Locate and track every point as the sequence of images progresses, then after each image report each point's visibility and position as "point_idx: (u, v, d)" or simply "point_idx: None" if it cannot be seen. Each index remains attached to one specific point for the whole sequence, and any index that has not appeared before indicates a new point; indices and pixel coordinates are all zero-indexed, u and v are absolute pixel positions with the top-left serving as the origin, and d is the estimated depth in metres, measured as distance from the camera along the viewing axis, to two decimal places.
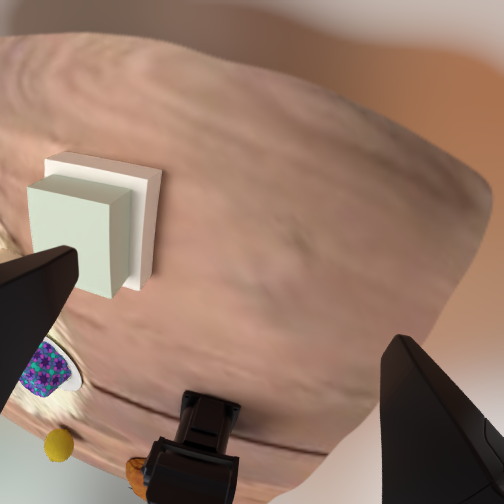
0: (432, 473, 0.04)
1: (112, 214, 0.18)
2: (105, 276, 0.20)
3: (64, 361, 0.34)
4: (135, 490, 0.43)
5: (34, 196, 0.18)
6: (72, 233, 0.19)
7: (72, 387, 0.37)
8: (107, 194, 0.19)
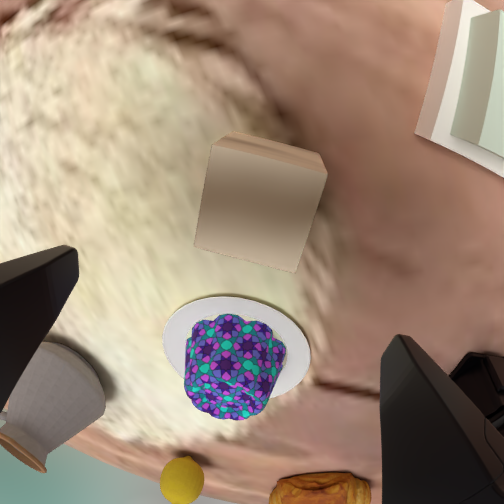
0: (432, 473, 0.04)
1: None
2: None
3: (284, 350, 0.24)
4: None
5: None
6: None
7: None
8: None
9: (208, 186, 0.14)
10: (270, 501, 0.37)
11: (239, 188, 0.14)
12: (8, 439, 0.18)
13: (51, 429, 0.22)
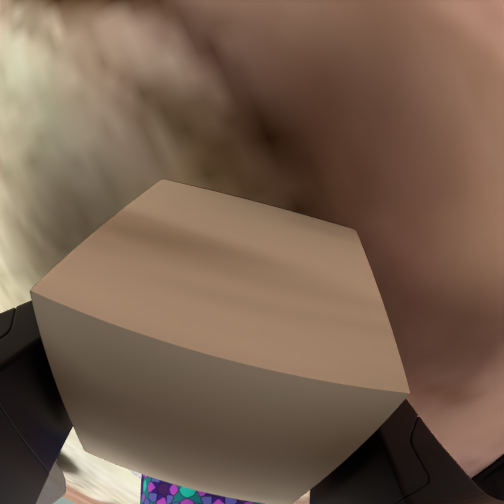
0: (350, 474, 0.04)
1: None
2: None
3: None
4: None
5: None
6: None
7: None
8: None
9: (63, 382, 0.04)
10: None
11: (135, 405, 0.04)
12: None
13: None
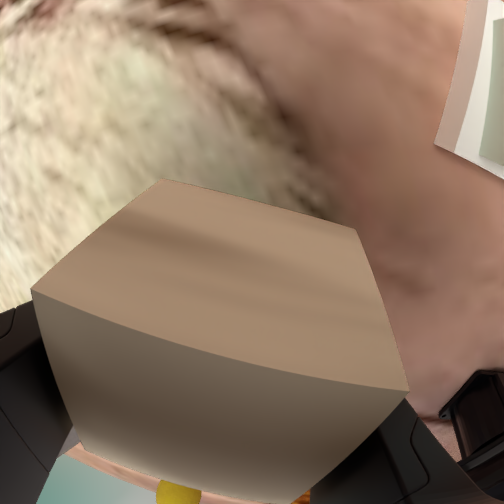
0: (351, 475, 0.04)
1: None
2: None
3: None
4: None
5: None
6: None
7: None
8: None
9: (63, 381, 0.04)
10: None
11: (135, 403, 0.04)
12: None
13: None
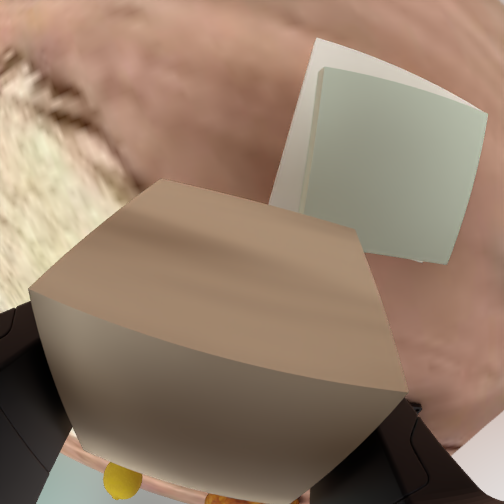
0: (350, 474, 0.04)
1: (480, 130, 0.10)
2: (452, 227, 0.12)
3: None
4: None
5: (342, 85, 0.10)
6: (418, 154, 0.11)
7: None
8: None
9: (61, 381, 0.04)
10: None
11: (133, 403, 0.04)
12: None
13: None
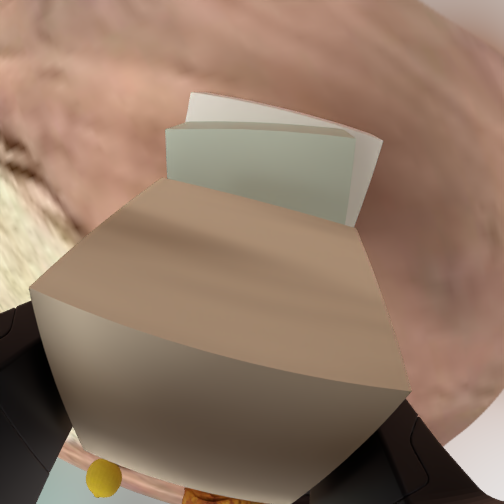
0: (350, 475, 0.04)
1: (351, 157, 0.11)
2: None
3: None
4: None
5: (183, 143, 0.11)
6: (271, 197, 0.12)
7: None
8: (326, 131, 0.12)
9: (62, 380, 0.04)
10: None
11: (135, 403, 0.04)
12: None
13: None
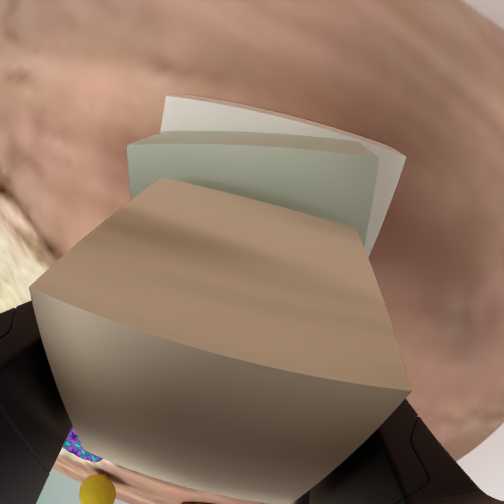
0: (351, 475, 0.04)
1: (371, 183, 0.09)
2: None
3: None
4: None
5: (149, 163, 0.09)
6: None
7: None
8: (338, 145, 0.09)
9: (62, 380, 0.04)
10: None
11: (135, 403, 0.04)
12: None
13: None
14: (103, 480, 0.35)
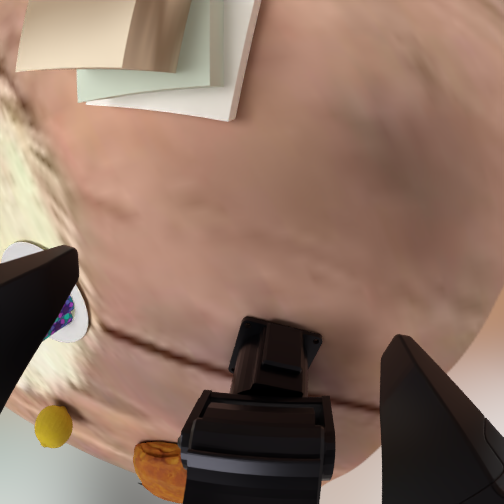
0: (433, 473, 0.04)
1: None
2: (200, 47, 0.12)
3: None
4: (145, 483, 0.35)
5: None
6: None
7: (80, 330, 0.28)
8: None
9: None
10: None
11: None
12: None
13: None
14: (60, 410, 0.36)
